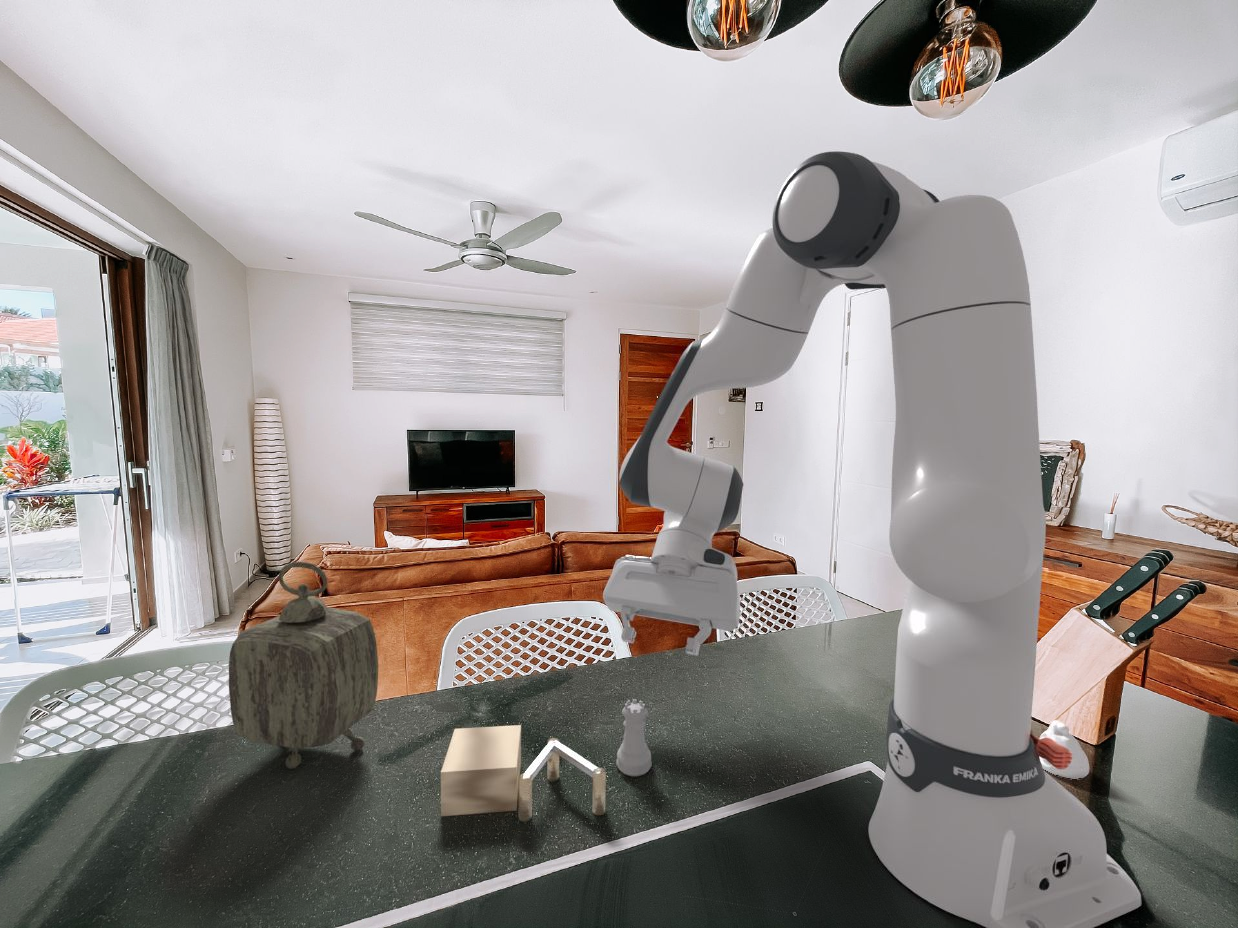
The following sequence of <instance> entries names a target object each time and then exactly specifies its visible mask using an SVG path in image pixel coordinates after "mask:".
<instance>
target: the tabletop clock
mask: <svg viewBox="0 0 1238 928" xmlns="http://www.w3.org/2000/svg"><path fill="white" fill-rule="evenodd" d="M293 568H303V569H308V570H312V571H313V572H315V573H317V574H318V575H319V576H320V577H321V579H322V583H323V584H322V586H321V587H320V588H318V589H315V590H309V585H308V584H306V583H301V584H299V585H298V587H297V588H293V587H291V586H289V585H288V584H286V582H285V581H284V575H285V573H286V572H287V571H288V570H290V569H293ZM278 582H279V584H280V586H281V587H282V588H283V590H284V591H286V592H288V593H290V594H292V595H295V596H298V597H296V598H294V599H291V600H289V601H288V602H287V603H286V604H285V606H284V607H283V609H282V611H281V612H280V614H279V615H278V616H275V617H273V618H270V619H268V620H266V621H263V622H260V623H259V624H255V625H254V626H251V627H249V628H247V629H244V630H241V632H240V633H239V634H238V636H237V637H236V638H235V640H234V642H233V643H232V645H231V648H230V651H229V660H228V692H229V693H228V694H229V704H230V705H229V707H230V713H231V720H232V724H233V727H234V730H235V732H236V733H237V735H239V736H241V737H242V738H245V739H247V740H250V741H253V742H258V743H263V744H265V745H271V746H274V747H275V746H276V747H283V748H292V750H291V754H289V755H288V756H287V758H286V759H285V761H284V762H285V764H284V765H285V766H286V768H287V769H289V770H290V769H291V770H292V769H296V768H297V767H298V766H299V765H300V764H301V761H302V757H301V755H300V754H299V753H298V751H299V749H307V748H314V747H322V746H326V745H329V744H331V743H332V742H334V741H335V740H336V739H338V738H339V737H341V735H343V736H344V737H346V738H347V739H348V740H350V748H351V750H353V751H355V752H357V751H360V750H362V749H363V748H364V746H365V741H366V740H365V738H363V737H362V736H356V737H355V735H354V734H353V732H352V731H351V730H350V728H351V727H353V726H354V725H355V724H356V723H358V722H359V721H360V720H362V719H363V718H364V717H366V716H367V715H368V714H370V712H372V711H373V708H374V707H375V703H376V699H377V695H378V685H379V658H378V657H379V656H378V647H377V638H376V634H375V629H374V627H373V623H372V622H371V619H370V618H369V617H367V616H365V615H363V614H361V613H358V612H355V611H351V610H347V609H341V608H336V607H331V606H327V605H326V603H325V602H324V601H323V600H322V599H320V598H318V597H316V596H317V595H320V594H322V593H323V592H324V591H325V590H326V588H327V585H328V577H327V575H326V573H325V572H324V570H323V569H322V568H321V567H320V566H317V565H316V564H314V563H311V562H307V561H294V562H293V561H292V562H290V563H289V562H288V563H287V564H285V565H284V566H283V567H282V568H281V569H280V571H279V574H278Z"/></svg>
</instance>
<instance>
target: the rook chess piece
mask: <svg viewBox="0 0 1238 928" xmlns="http://www.w3.org/2000/svg"><path fill="white" fill-rule="evenodd" d="M621 714H622V715H623V717H624V718H625V720H624V721H623V726H624V735H623V740H622V743H621V744H620V747H619V748H618V750H617V752H616V763H615V764H616V767H617V768H618V770H619V771H620V772H621V773H622V774H624V775H625V776H629V777H640V776H643V775H645V774H647V773H648V772H649V770H650V769H651V768H652V763H653V762H652V752H651V750H650V749H649V747H648V746H649V745H648V744H647V742H646V735H645V728H646V726H647V723H646V721H645V719H646V718H647V716H648V715H649V711H648V710H647V708H646V703H644V701H643V700H639V701H638V702H637V699H634V698H633V699H632V702H631V700H630V699H628V700H627V701H626V702H625V703H624V707H623V708H622V710H621Z"/></svg>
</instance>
